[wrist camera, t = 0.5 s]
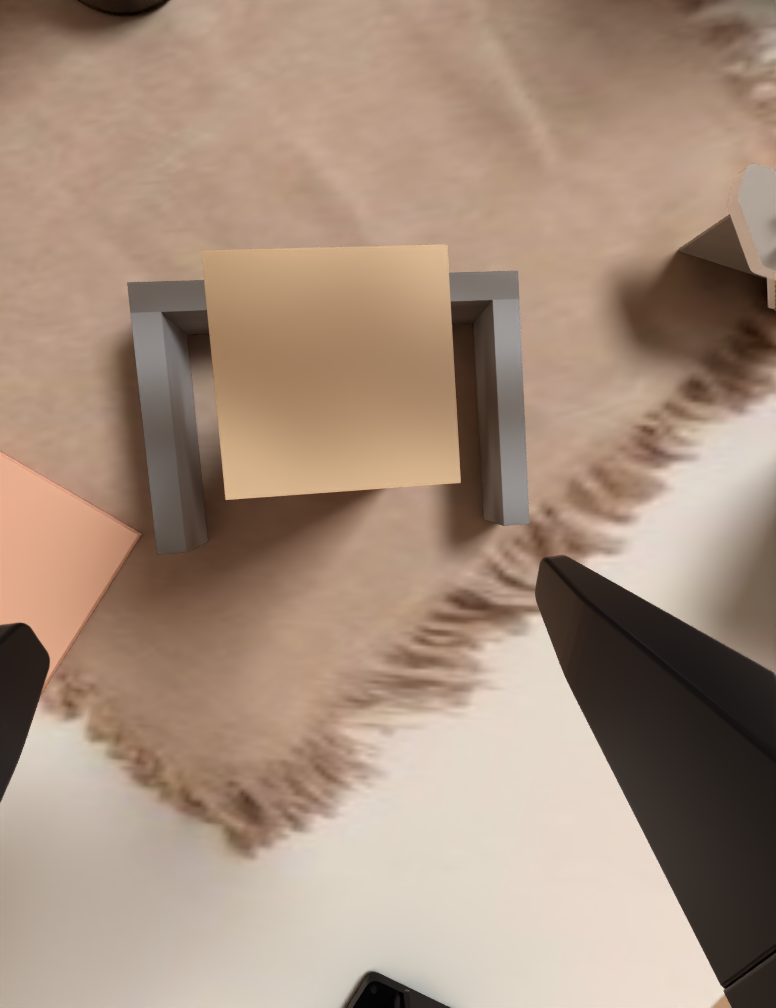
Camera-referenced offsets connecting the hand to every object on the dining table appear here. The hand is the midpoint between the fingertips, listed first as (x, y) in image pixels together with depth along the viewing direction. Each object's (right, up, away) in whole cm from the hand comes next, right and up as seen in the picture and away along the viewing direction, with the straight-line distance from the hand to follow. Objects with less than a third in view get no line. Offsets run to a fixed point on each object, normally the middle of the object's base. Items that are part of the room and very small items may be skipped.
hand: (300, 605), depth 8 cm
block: (-1, +5, +14) cm, 15 cm away
